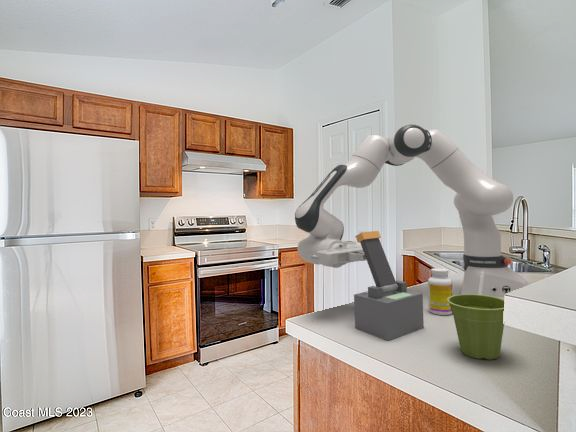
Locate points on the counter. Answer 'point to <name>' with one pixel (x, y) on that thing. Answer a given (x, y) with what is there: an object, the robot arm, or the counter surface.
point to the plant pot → (478, 324)
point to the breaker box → (389, 311)
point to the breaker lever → (377, 261)
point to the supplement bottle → (439, 292)
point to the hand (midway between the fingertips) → (366, 257)
